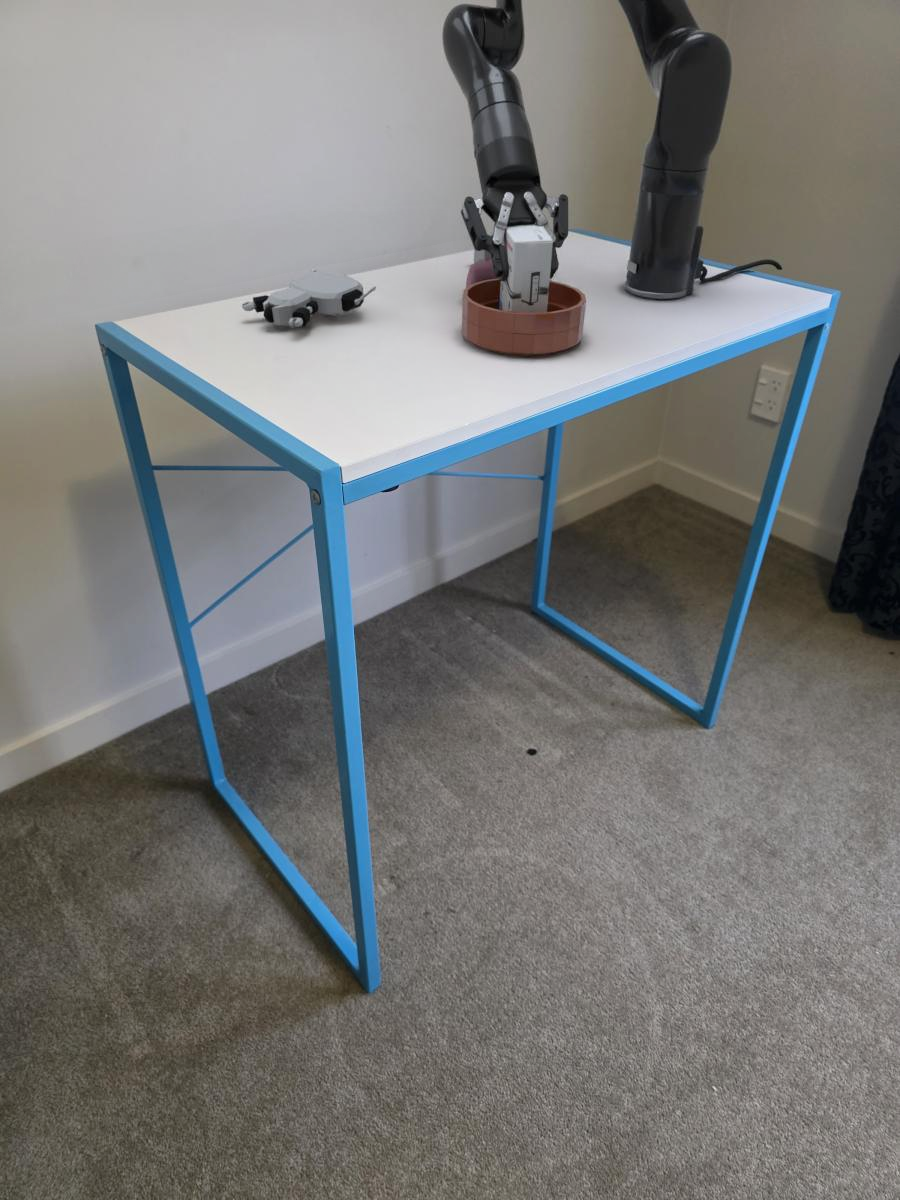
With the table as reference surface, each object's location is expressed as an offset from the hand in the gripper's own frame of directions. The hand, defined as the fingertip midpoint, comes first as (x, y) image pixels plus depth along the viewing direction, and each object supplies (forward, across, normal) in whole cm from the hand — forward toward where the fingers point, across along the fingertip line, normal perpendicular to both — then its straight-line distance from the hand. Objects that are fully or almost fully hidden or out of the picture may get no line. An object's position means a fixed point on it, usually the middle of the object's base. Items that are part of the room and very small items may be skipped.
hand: (528, 276), depth 107 cm
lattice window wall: (-16, +7, +28) cm, 33 cm away
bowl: (+5, 0, +6) cm, 8 cm away
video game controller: (-6, +2, +18) cm, 19 cm away
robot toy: (-4, -26, +16) cm, 31 cm away
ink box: (+4, 0, +6) cm, 7 cm away
